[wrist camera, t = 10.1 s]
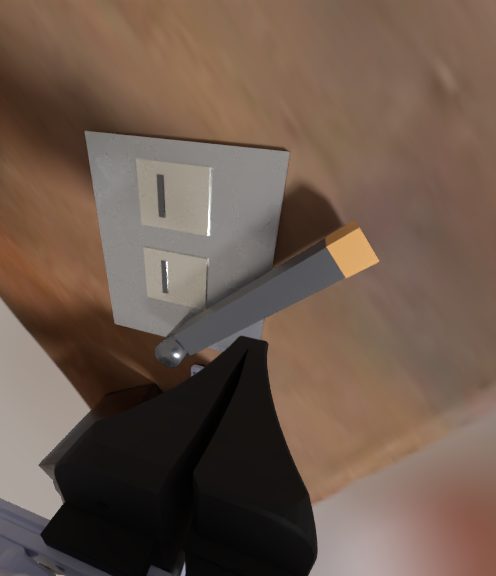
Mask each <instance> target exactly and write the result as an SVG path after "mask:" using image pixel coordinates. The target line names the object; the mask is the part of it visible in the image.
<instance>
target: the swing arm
mask: <svg viewBox="0 0 496 576" xmlns="http://www.w3.org/2000/svg"><path fill="white" fill-rule="evenodd" d="M378 262H379V260H378V258H377V257H376V255H375V253H374V251H373V250H372V248H371V246H370V245H369V243H368V241H367V239H366V238H365V236H364V234H363V232H362V231H361V229H360V227H359V226H358V225H357V223H356V222H355V221H354V220H353V221H351V222H350V223H348V224H346V225H345V226H343V227H341V228H340V229H338V230H336V231H335V232H333V233H331V234H330V235H328V236H326V237H325V239H323V240H321V241H320V242H318V243H316V244H315V245H313V246H311V247H310V248H308V249H306V250H305V251H303V252H301V253H300V254H298V255H296V256H295V257H293V258H291V259H290V260H288V261H286V262H285V263H283V264H281V265H280V266H278V267H276V268H275V269H273V270H271V271H270V272H268V273H266V274H265V275H263V276H261V277H260V278H258V279H256V280H255V281H253V282H251V283H249V284H248V285H246V286H244V287H243V288H241V289H239V290H238V291H236V292H234V293H233V294H231V295H229V296H228V297H226V298H224V299H223V300H221V301H219V302H218V303H216V304H214V305H213V306H211V307H209V308H208V309H206V310H204V311H203V312H201V313H199V314H198V315H196V316H194V317H193V318H191V319H189V320H188V321H187V322H186V323H185V324H184V325H183V326H182V327H181V328H180V329H179V331H178V332H177V333H176V334H175V335H174V337H175V338H176V339H177V340H178V342H179V343H180V344H181V345H182V346H183V347H184V349H185V350H186V351H187V352H188V353H189V355H190V356H191V355H193V354H195V353H197V352H199V351H201V350H203V349H205V348H207V347H209V346H211V345H213V344H215V343H217V342H219V341H221V340H223V339H225V338H227V337H229V336H231V335H233V334H235V333H237V332H239V331H241V330H243V329H244V328H246V327H248V326H250V325H252V324H254V323H256V322H258V321H260V320H262V319H264V318H266V317H268V316H270V315H272V314H274V313H276V312H278V311H280V310H282V309H284V308H286V307H288V306H290V305H292V304H294V303H296V302H298V301H300V300H302V299H304V298H306V297H308V296H310V295H312V294H314V293H316V292H318V291H320V290H322V289H324V288H326V287H328V286H330V285H332V284H334V283H336V282H338V281H339V280H341V279H343V278H348V277H350V276H352V275H354V274H356V273H358V272H360V271H362V270H364V269H366V268H368V267H370V266H372V265H374V264H376V263H378Z"/></svg>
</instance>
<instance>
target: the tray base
mask: <svg viewBox="0 0 496 576" xmlns="http://www.w3.org/2000/svg"><path fill="white" fill-rule="evenodd" d="M85 137H86V144H87V150H88V157H89V163H90V169H91V176H92V182H93V189H94V195H95V201H96V208H97V214H98V220H99V227H100V233H101V240H102V246H103V252H104V259H105V265H106V272H107V278H108V284H109V291H110V297H111V304H112V310H113V316H114V323H115V324H117V325H121V326H125V327H129V328H133V329H137V330H140V331H144V332H148V333H152V334H156V335H160V336H164V337H165V338H164V339H163V340H162V341H161V342H160V343H159V344H158V346H157V347H156V348H155V356H156V358H157V360H158V361H159V362H160V363H161V364H163V365H164V366H167V367H177V366H178V365H179V364H180V363H181V361H182V360H183V358H184V357H185V356H186V354H187V353H188V352H187V351H186V350H185V349H184V347H183V346H182V345H181V344H180V343H179V342H178V340H177V339H176V338H175V337H174V335H175V334H176V333H177V332H178V331H179V329H180V328H181V327H182V326H183V325H184V324H185V323H186V322H187V321H188V320H189V319H191V318H193V317H194V316H196V315H198V314H199V313H201V312H203V311H204V310H206V309H208V308H209V307H211V306H213V305H214V304H216V303H218V302H219V301H221V300H223V299H224V298H226V297H228V296H229V295H231V294H233V293H234V292H236V291H238V290H239V289H241V288H243V287H244V286H246V285H248V284H249V283H251V282H253V281H255V280H256V279H258V278H260V277H261V276H263V275H265V274H266V273H268V272H270V271H271V270H272V268H273V261H274V255H275V249H276V242H277V236H278V229H279V223H280V217H281V210H282V204H283V198H284V191H285V185H286V179H287V172H288V166H289V160H290V153H291V152H287V151H277V150H267V149H258V148H248V147H238V146H228V145H219V144H209V143H199V142H189V141H179V140H170V139H160V138H150V137H140V136H131V135H121V134H111V133H101V132H91V131H85ZM263 325H264V319H262V320H260V321H258V322H256V323H254V324H252V325H250V326H248V327H246V328H244V329H243V330H241V331H239V332H237V333H235V334H233V335H231V336H229V337H227V338H225V339H223V340H221V341H219V342H217V343H215V344H213V345H211V346H209V347H207V348H210V349H214V350H218V351H222V352H223V351H225V350H226V349H227V348H228V347H229V346H230V345H231V344H232V343H233V342H234V341H235V340H236V339H237V338H238V337H239V336H241V335H242V336H246V337H250V338H254V339H259V340H261V337H262V331H263Z"/></svg>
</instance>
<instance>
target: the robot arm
mask: <svg viewBox="0 0 496 576" xmlns="http://www.w3.org/2000/svg"><path fill="white" fill-rule="evenodd" d="M267 350H268V343H267V341H263V340H259V339H254V338H250V337H246V336H242V335H241V336H239V337H238V338H237V339H236V340H235V341H234V342H233V343H232V344H231V345H230V346H229V347H228V348H227V349H226V350H225V351H223V352H222V353H221V354H220V355H219V356H218V357H217V358H215V359H214V360H213V361H212V362H211V363H209V364H208V365H207V366H205V367H203V366H199V365H193V366H192V367H191V377H190V378H189V379H187V380H185V381H184V382H182V383H181V384H179V385H177V386H176V387H174V388H172V389H170V390H169V391H167V392H165V393H163V394H161V395H159V396H157V397H155V398H153V399H151V400H149V401H147V402H145V403H142V404H140V405H138V406H136V407H134V408H131V409H129V410H126V411H124V412H121V413H118V414H115V415H113V416H110V417H107V418H105V419H102V420H99V421H96V422H94V423H93V424H92V425H91V426H90V427H89V428H88V429H87V430H86V431H85V432H84V433H83V434H82V435H81V436H80V437H79V438H78V439H77V441H76V442H75V443H74V444H73V445H72V446H71V447H70V448H69V449H68V451H67V452H66V453H65V454H64V455H63V456H62V457H61V458H60V460H59V461H58V462H57V463H56V464H55V468H54V475H55V479H56V481H57V484H58V486H59V488H60V491H61V493H62V495H63V498H64V500H65V502H64V504H63V505H62V506H61V508H60V509H59V510H58V511H57V513H56V514H55V515H54V517H53V518H52V519H51V520H48V519H46V518H44V517H41V516H39V515H37V514H35V513H32V512H30V511H28V510H25V509H23V508H21V507H19V506H17V505H14V504H12V503H10V502H7V501H5V500H3V499H1V498H0V576H56V575H55V574H54V573H52V572H51V571H50V570H48V569H47V568H45V567H44V566H42V565H41V564H43V565H45V566H47V567H49V568H51V569H53V570H56V571H58V572H60V573H62V574H64V575H65V576H308V575H309V573H310V571H311V569H312V567H313V565H314V563H315V561H316V558H317V535H316V528H315V522H314V516H313V511H312V506H311V502H310V497H309V493H308V491H307V489H306V487H305V485H304V483H303V481H302V478H301V476H300V474H299V472H298V470H297V468H296V465H295V463H294V461H293V458H292V456H291V454H290V451H289V449H288V446H287V443H286V441H285V438H284V435H283V432H282V430H281V427H280V424H279V421H278V417H277V414H276V411H275V407H274V403H273V399H272V394H271V389H270V384H269V378H268V369H267ZM195 372H196V373H195ZM36 561H37V562H36ZM38 562H39V563H41V564H39V563H38Z"/></svg>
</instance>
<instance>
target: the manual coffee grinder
mask: <svg viewBox="0 0 496 576" xmlns="http://www.w3.org/2000/svg"><path fill="white" fill-rule="evenodd" d="M161 394H163V393H162V391H161V390H160V389H159V387H158V386H157V385H156V384H149V385H142V386H138V387H134V388H129V389H125V390H121V391H117V392H113V393H109V394H106V395H105V396H104V397H103V398H102V399H101V400H100V402H99V403H98V404H97V405H96V406H95V407H94V408H93V409H92V410H91V411H90V412H89V413H88V414H87V415H86V416H85V417H84V418H83V419H82V420H81V421H80V422H79V423H78V424H77V425H76V426H75V428H73V429H72V430H71V432H69V434H68V435H67V436H66V437H65V438H64V439H63V440H62V441H61V442H60V443H59V444H58V445H57V446H56V447H55V448H54V449H53V450H52V452H50V454H48V456H47V457H45V458H44V459H43V460H42V462H41V463H40V464H39V466H40V467H41V468H42V469H43V470H44V471H45V472H46V473H47V475H49V477H50V478H51V479H53V483H54V486H55V489H56V491H57V492H58V493H59V494H60V496H61V499H62V502H63V504H64V502H65V500H64V498H63V495H62V493H61V491H60V488H59V486H58V484H57V481H56V479H55V475H54V468H55V464H56V463H57V462H58V461H59V460H60V458H61V457H62V456H63V455H64V454H65V453H66V452H67V451H68V449H69V448H70V447H71V446H72V445H73V444H74V443H75V442H76V441H77V439H78V438H79V437H80V436H81V435H82V434H83V433H84V432H85V431H86V430H87V429H88V428H89V427H90V426H91V425H92V424H93V423H94V422H96V421H99V420H102V419H105V418H107V417H110V416H113V415H115V414H118V413H121V412H124V411H126V410H129V409H131V408H134V407H136V406H138V405H140V404H142V403H145V402H147V401H149V400H151V399H153V398H155V397H157V396H159V395H161ZM39 564H41V563H39ZM41 565H42V566H44V567H45V568H47V569H48V570H50V571H51V572H52V573H54V574H57V575H64V574H62V573H60V572H58V571H56V570H53V569H51V568H49V567H47V566H45V565H43V564H41Z"/></svg>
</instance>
